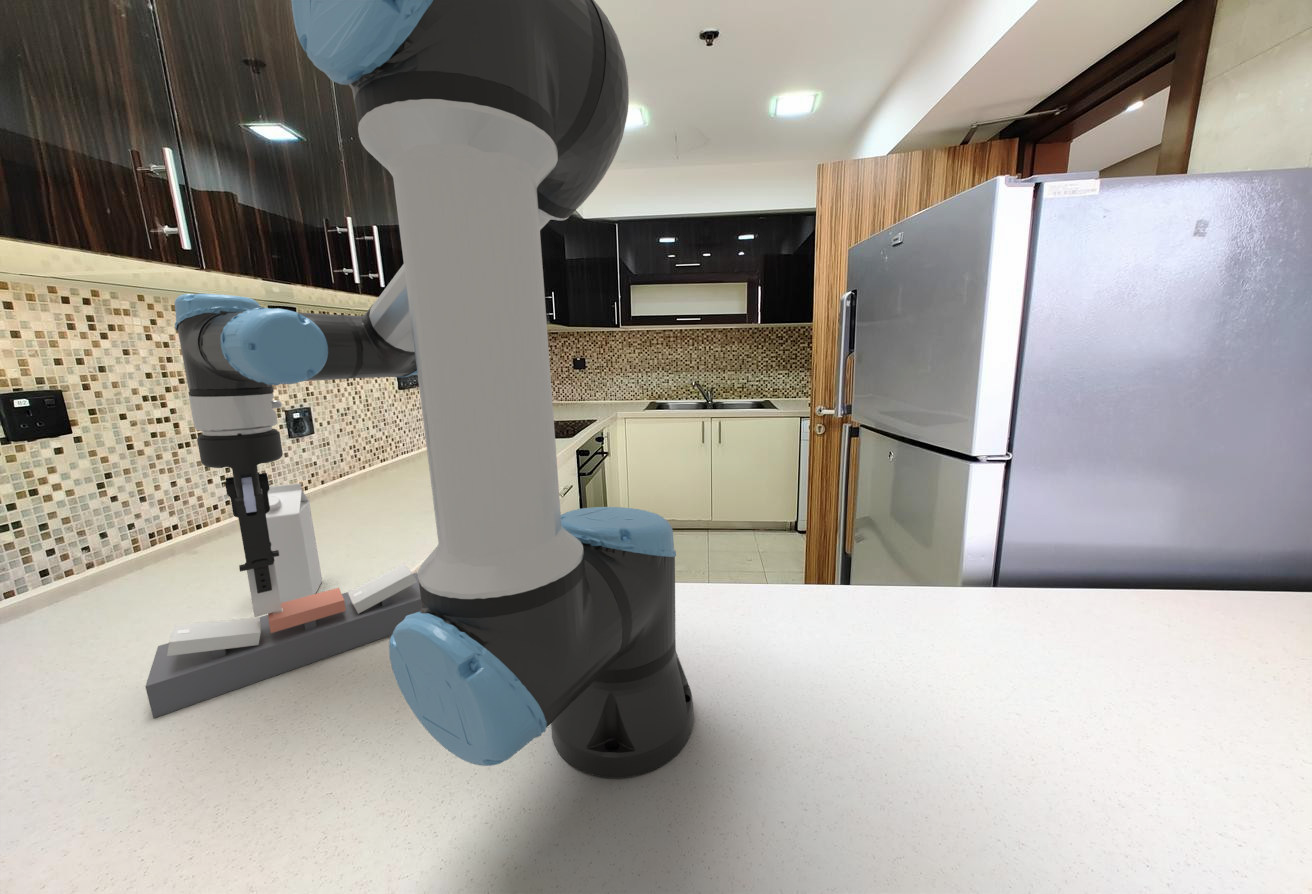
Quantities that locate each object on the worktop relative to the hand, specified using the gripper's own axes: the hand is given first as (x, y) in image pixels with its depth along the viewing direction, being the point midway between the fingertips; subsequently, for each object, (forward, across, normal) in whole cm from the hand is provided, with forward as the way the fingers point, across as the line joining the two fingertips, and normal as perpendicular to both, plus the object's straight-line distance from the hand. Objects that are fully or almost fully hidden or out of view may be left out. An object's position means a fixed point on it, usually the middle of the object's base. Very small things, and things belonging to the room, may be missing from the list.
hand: (268, 610), depth 61 cm
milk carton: (+8, +21, -3) cm, 23 cm away
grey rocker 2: (+1, 0, -13) cm, 13 cm away
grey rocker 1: (+1, 0, +5) cm, 5 cm away
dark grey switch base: (+7, +1, -7) cm, 10 cm away
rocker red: (+1, 0, -4) cm, 4 cm away
